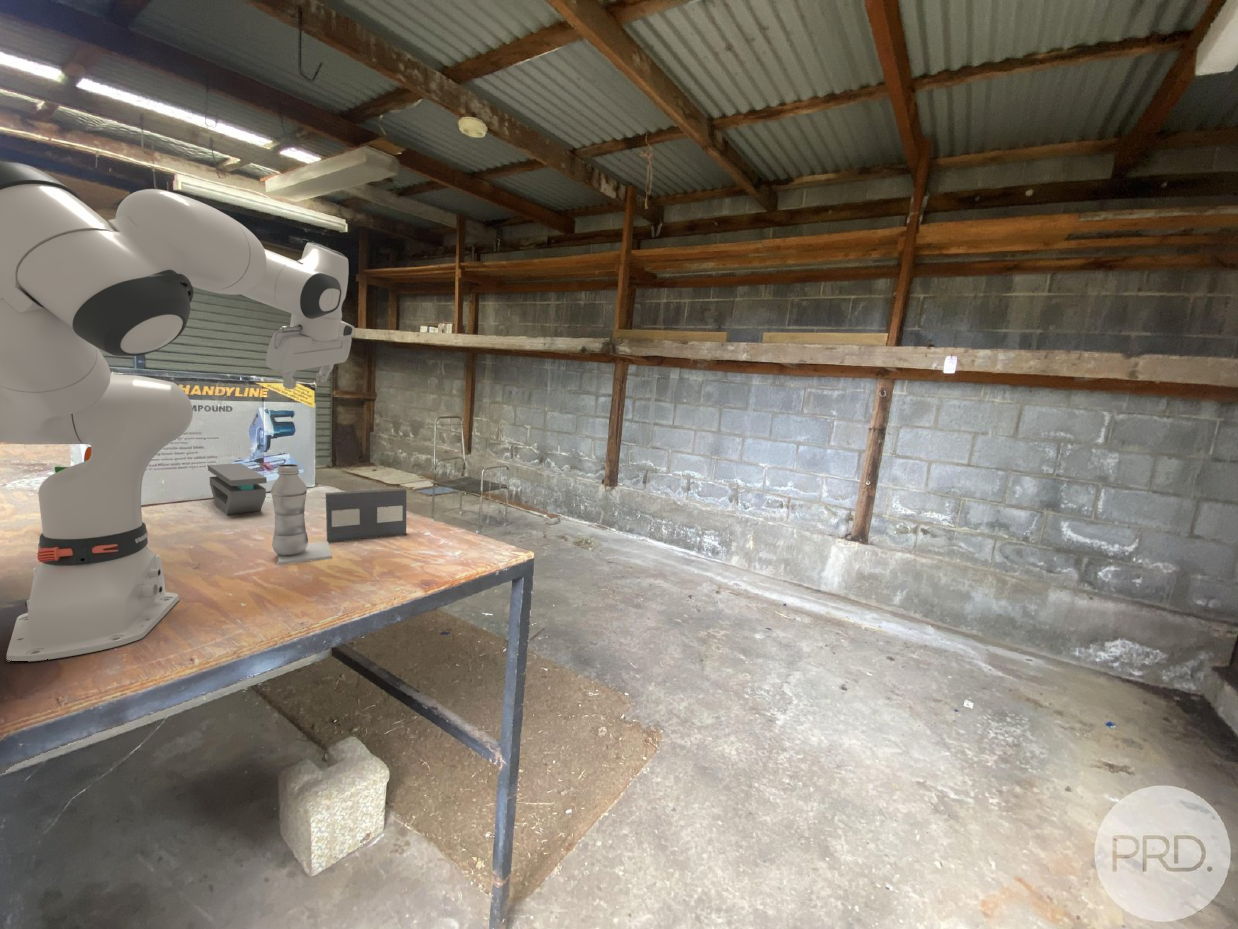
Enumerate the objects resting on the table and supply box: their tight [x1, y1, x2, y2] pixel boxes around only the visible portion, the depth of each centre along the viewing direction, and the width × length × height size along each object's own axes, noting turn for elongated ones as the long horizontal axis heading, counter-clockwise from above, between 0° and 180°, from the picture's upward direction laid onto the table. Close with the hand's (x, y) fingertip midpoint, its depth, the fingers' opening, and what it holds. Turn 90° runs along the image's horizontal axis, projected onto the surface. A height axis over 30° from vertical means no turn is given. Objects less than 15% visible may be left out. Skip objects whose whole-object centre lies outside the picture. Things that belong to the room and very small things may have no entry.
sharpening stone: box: [207, 462, 267, 516], centre depth 143 cm, size 25×8×11 cm, turn 50°
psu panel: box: [325, 488, 407, 544], centre depth 126 cm, size 2×18×12 cm, turn 125°
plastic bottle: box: [270, 463, 309, 555], centre depth 110 cm, size 6×7×20 cm
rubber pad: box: [277, 540, 333, 566], centre depth 113 cm, size 11×10×1 cm
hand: (305, 384), depth 110 cm, fingers open, 8 cm apart
